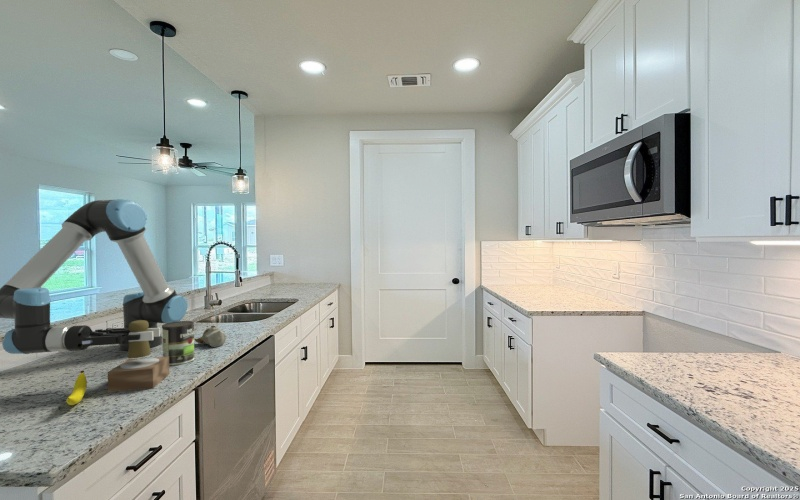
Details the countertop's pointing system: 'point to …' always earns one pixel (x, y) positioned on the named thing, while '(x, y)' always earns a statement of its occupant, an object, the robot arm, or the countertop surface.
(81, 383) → the banana
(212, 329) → the ceramic sculpture
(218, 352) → the countertop surface
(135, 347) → the cork
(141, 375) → the walnut plinth
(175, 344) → the coffee can
